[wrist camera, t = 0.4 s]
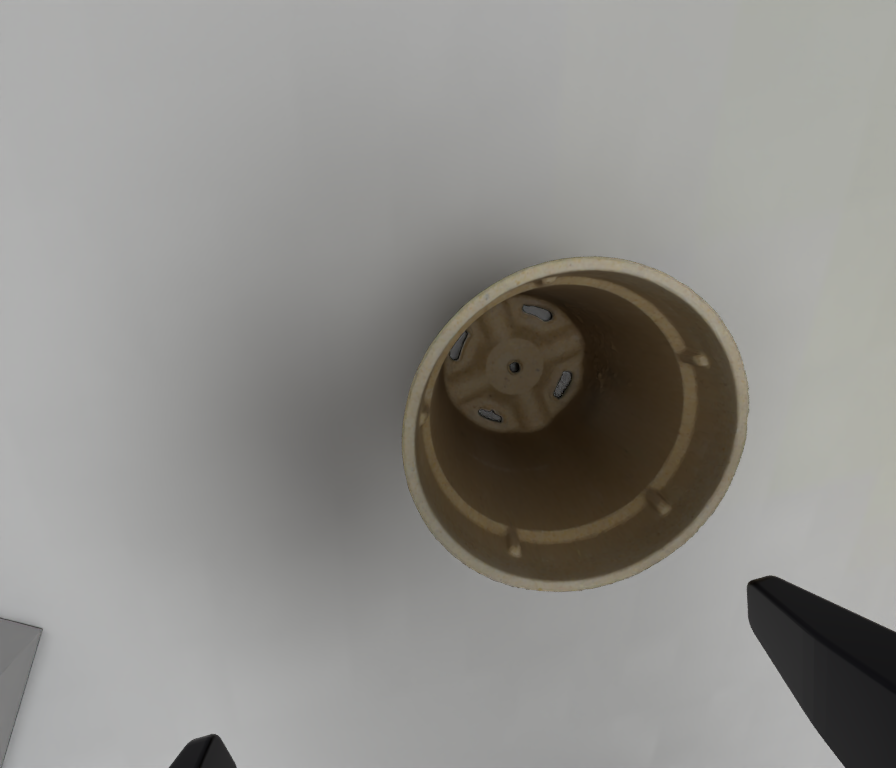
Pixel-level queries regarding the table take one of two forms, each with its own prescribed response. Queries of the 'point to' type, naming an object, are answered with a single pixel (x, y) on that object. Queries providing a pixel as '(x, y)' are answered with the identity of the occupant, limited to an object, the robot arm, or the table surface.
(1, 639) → the cinder block
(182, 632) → the table surface
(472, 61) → the table surface
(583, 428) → the flower pot
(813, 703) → the robot arm
